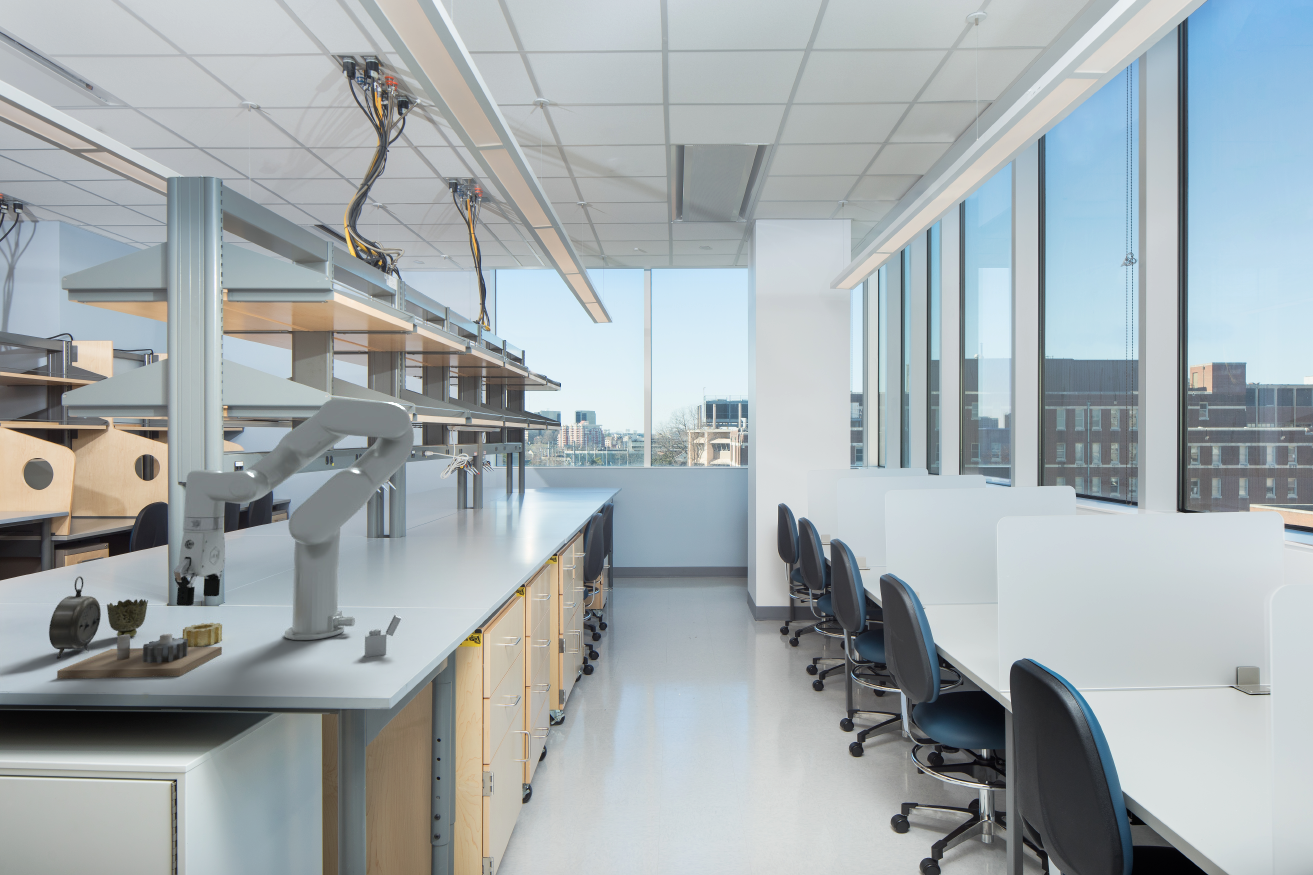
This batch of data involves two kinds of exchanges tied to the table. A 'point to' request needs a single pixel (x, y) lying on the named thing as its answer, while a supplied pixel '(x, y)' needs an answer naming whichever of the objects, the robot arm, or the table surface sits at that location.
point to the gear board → (142, 660)
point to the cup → (127, 616)
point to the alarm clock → (74, 622)
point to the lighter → (379, 639)
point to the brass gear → (203, 634)
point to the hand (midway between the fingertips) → (198, 600)
